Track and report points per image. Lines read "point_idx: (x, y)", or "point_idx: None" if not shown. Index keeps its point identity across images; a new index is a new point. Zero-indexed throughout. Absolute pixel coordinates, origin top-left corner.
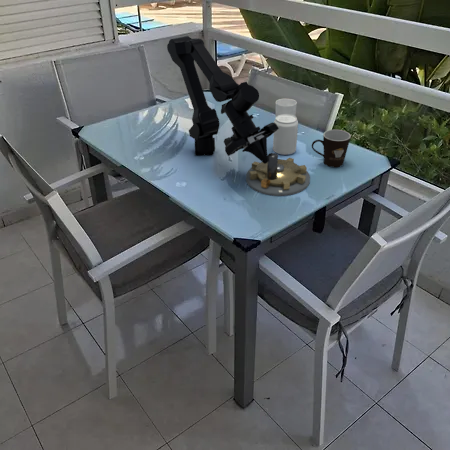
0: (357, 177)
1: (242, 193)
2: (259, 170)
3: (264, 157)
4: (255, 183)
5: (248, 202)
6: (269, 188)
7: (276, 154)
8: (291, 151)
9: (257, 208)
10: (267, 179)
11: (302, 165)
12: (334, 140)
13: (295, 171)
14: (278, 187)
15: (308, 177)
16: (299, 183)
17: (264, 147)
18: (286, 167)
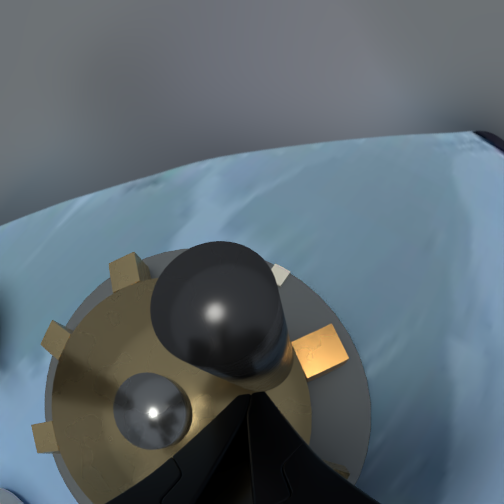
0: (16, 235)
1: (433, 397)
2: None
3: (270, 411)
4: (341, 424)
5: (445, 308)
6: (307, 333)
7: (163, 291)
8: (6, 493)
9: (429, 249)
10: (299, 355)
11: (47, 349)
12: None
13: (106, 327)
14: None
15: (88, 303)
16: None
17: (192, 482)
18: (106, 394)
